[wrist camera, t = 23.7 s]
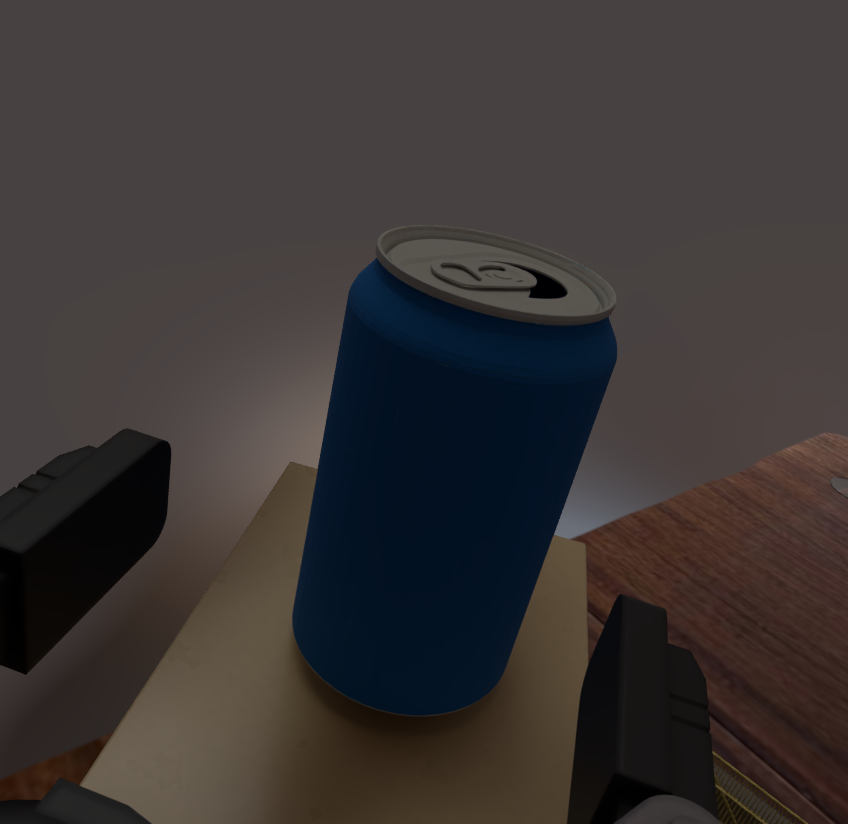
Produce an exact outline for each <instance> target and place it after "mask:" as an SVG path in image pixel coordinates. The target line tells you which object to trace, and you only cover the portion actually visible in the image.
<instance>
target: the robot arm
mask: <svg viewBox="0 0 848 824" xmlns="http://www.w3.org/2000/svg"><path fill="white" fill-rule="evenodd" d="M170 464H171V447H170V444H169V443H168V442H167V441H165V440H161V439H158V438H155V437H152V436H150V435H147V434H143V433H141V432H138V431H135V430H132V429H123V430H122V431H120V432H119V433H117V434H116V435H114V436H113V437H112V438H111V439H109V440H108V441H107V442H105V443H104V444H102V445H101V446H100V447H98V448H95V447H92V446H86V447H83V448H80V449H77V450H74V451H71V452H68V453H65V454H62V455H59V456H58V457H56V458H55V459H54V460H52V461H51V462H49V463H48V464H46V465H45V466H43V467H42V468H40V469H39V470H38V471H37V473H36V474H35V475H34V474H32V475H30V476H29V477H28V478H26V479H25V480H23V481H22V482H21V483H19V485H18V487H17V488H16V487H13V488H12V489H10V490H9V491H8V492H6V493H5V494H3V495H2V496H0V665H2V666H5V667H8V668H10V669H12V670H15V671H18V672H20V673H23V674H25V675H26V674H27V673H28V672H29V671H30V670H31V669H32V668H33V667H34V666H35V665H36V664H37V663H38V662H39V661H40V660H41V659H42V658H43V657H44V656H45V655H46V654H47V653H48V652H49V651H50V650H51V649H52V648H53V647H54V646H55V645H56V644H57V643H58V642H59V641H60V640H61V639H62V638H63V637H64V636H65V635H66V634H67V633H68V631H70V629H72V627H73V626H75V624H77V623H78V622H79V620H80V619H81V618H82V617H83V616H84V615H85V614H86V613H87V612H88V611H89V610H90V609H91V608H92V607H93V606H94V605H95V604H96V603H97V602H98V601H99V600H100V599H101V598H102V597H103V596H104V595H105V594H106V593H107V592H108V591H109V590H110V589H111V588H112V587H113V586H114V585H115V584H116V583H117V582H118V581H119V580H120V579H121V578H122V577H123V576H124V575H125V574H126V573H127V572H128V571H129V570H130V569H131V568H132V567H133V565H135V564H136V563H137V562H138V560H140V559H141V558H142V556H143V555H144V554H145V553H146V552H147V551H148V550H149V549H150V548H151V547H152V546H153V545H154V544H155V542H156V541H157V539H158V537H159V535H160V534H161V531H162V529H163V526H164V524H165V520H166V516H167V507H168V492H169V478H170ZM707 708H708V698H707V687H706V678H705V677H704V675H703V673H702V671H701V669H700V668H699V666H698V664H697V662H696V660H695V658H694V657H693V655H692V653H691V651H689V650H686V649H683V648H680V647H677V646H674V645H672V644H669V643H668V635H667V613H666V610H665V609H664V608H661V607H658V606H655V605H652V604H649V603H646V602H643V601H640V600H637V599H634V598H631V597H628V596H625V595H622V594H620V595H619V596H618V597H617V599H616V601H615V603H614V605H613V607H612V610H611V612H610V614H609V617H608V619H607V622H606V624H605V626H604V629H603V631H602V633H601V636H600V638H599V640H598V643H597V645H596V647H595V650H594V652H593V655H592V657H591V659H590V662H589V664H588V667H587V670H586V673H585V677H584V681H583V685H582V689H581V694H580V701H579V710H578V720H577V729H576V739H575V749H574V758H573V768H572V778H571V787H570V797H569V807H568V816H567V824H721V823H720V822H719V818H718V808H717V797H716V786H715V775H714V764H713V753H712V742H711V734H709V730H710V720H709V711H707ZM0 824H152V823H150V822H149V821H148V820H147V819H145V818H144V817H143V816H142V815H140V814H139V813H138V812H136V811H135V810H134V809H133V808H131V807H130V806H129V805H126V804H124V803H122V802H119V801H117V800H114V799H112V798H109V797H107V796H104V795H102V794H99V793H97V792H94V791H92V790H89V789H87V788H84V787H82V786H79V785H77V784H74V783H72V782H69V781H67V780H64V779H62V778H59V779H58V780H57V782H56V783H55V784H54V785H53V787H52V788H51V789H50V790H49V792H48V793H47V794H46V795H45V797H44V798H43V799H42V800H41V801H40V800H7V801H0Z"/></svg>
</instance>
